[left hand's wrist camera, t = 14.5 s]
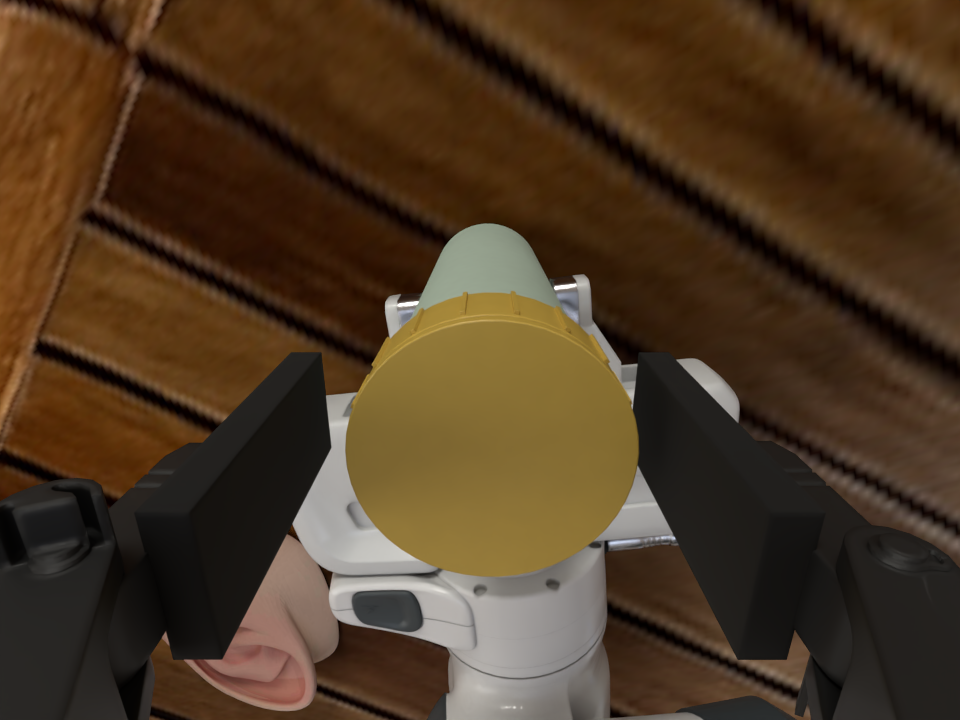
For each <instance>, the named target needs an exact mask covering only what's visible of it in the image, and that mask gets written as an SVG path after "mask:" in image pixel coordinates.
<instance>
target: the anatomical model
mask: <svg viewBox="0 0 960 720" xmlns="http://www.w3.org/2000/svg"><path fill="white" fill-rule="evenodd" d="M162 639H163V640H164V641H165V642H166V643H167V644H168V645H169V641H168V638H167V634H166V632H165V634H164V635H163V637H162ZM338 641H339V630H338V622H337V618H336V617H335V616H334V615H333V613H332V611H331V607H330V604H329V589H328V586H327V583H326V581H325V578H324V576H323V573H322V571H321V569H320V567H319V565H318V563H317V562H315V561H314V560H313V559H312V558H311V557H310V555H309V554H308V553H307V551H306V550H305V548H304V547H303V545H302V544H301V543H300V542H299V541H297V540H296V539H295V538H293V537H292V536H290V535H288V534H287V535H286V537H285V539H284V541H283V543H282V545H281V547H280V549H279V551H278V553H277V555H276V556H275V558H274V560H273V562H272V564H271V566H270V568H269V570H268V572H267V574H266V576H265V578H264V580H263V582H262V584H261V586H260V587H259V589H258V591H257V593H256V595H255V597H254V599H253V601H252V603H251V605H250V607H249V609H248V611H247V613H246V615H245V617H244V618H243V620H242V622H241V624H240V626H239V628H238V630H237V632H236V634H235V636H234V638H233V640H232V642H231V644H230V646H229V648H228V649H227V651H226V653H225V655H224V657H223V659H222V660H185V661H186V662H187V663H188V664H189V665H190V666H191V667H192V668H193V669H194V670H195V671H196V672H197V673H198V674H199V675H200V676H202V677H203V678H204V679H205V680H206V681H207V682H209V683H210V684H211V685H213V686H214V687H215V688H217V689H219V690H221V691H222V692H224V693H226V694H228V695H230V696H232V697H234V698H236V699H238V700H241V701H244V702H246V703H249V704H252V705H255V706H258V707H261V708H266V709H271V710H279V711H293V710H299V709H302V708H305V707H306V706H308V705H309V704H310V703H311V702H312V700H313V698H314V696H315V693H316V688H317V678H316V670H315V666H314V663H316V662H319V661H321V660H323V659H325V658H327V657H328V656H330V655H331V654H332V653H333V652H334V651H335V649H336V647H337V645H338ZM169 646H170V645H169Z"/></svg>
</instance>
